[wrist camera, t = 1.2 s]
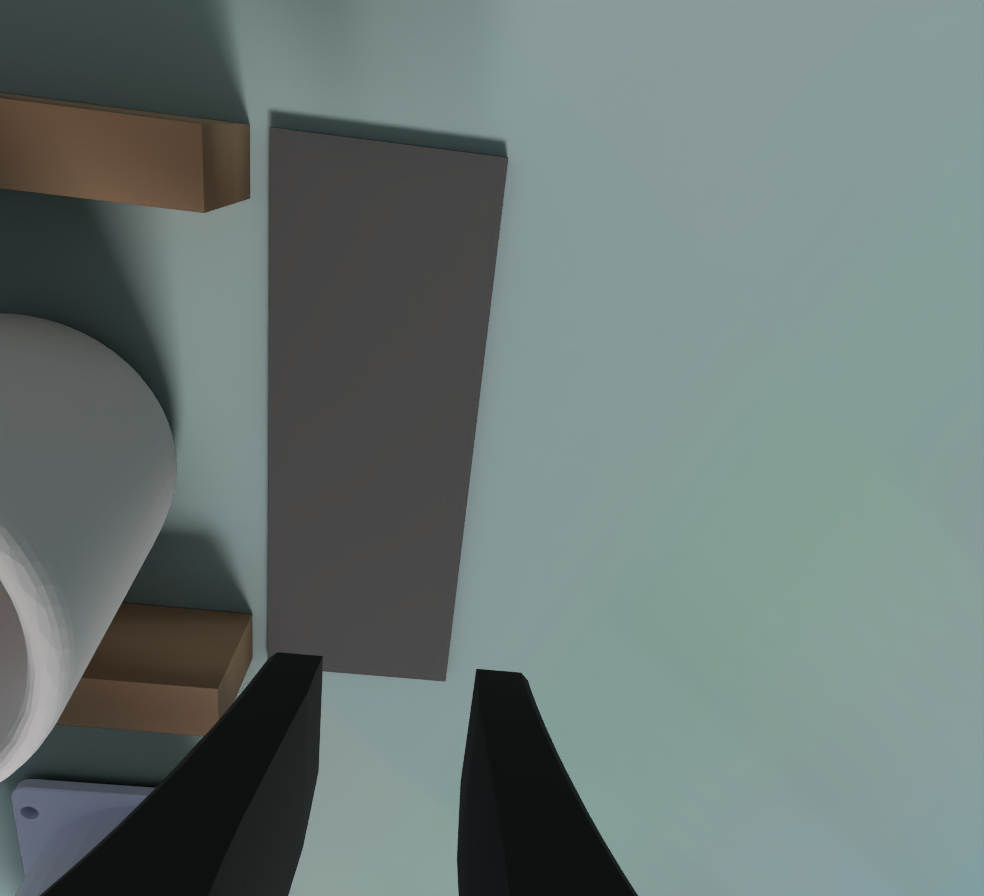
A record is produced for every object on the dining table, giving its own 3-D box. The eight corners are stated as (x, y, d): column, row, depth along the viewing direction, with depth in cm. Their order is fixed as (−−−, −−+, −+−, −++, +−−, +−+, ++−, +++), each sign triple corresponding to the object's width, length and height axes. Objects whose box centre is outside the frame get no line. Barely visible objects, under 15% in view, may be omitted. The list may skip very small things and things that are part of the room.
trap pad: (445, 674, 22) (445, 681, 21) (270, 659, 21) (267, 666, 21) (507, 157, 16) (508, 158, 16) (273, 127, 16) (269, 127, 16)
